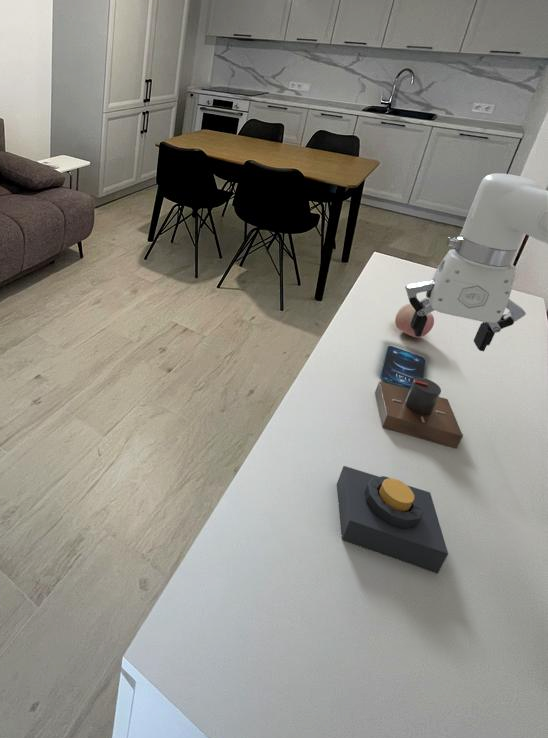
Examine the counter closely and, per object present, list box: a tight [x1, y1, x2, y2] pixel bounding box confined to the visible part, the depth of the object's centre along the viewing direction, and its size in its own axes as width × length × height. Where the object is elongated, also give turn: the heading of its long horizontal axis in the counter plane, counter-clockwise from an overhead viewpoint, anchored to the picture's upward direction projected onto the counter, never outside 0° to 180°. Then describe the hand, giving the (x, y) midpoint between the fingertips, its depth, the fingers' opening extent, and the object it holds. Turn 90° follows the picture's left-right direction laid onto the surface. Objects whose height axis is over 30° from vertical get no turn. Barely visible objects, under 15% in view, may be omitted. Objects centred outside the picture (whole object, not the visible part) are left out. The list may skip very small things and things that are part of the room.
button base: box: [336, 465, 449, 574], centre depth 72 cm, size 12×10×6 cm
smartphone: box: [379, 345, 426, 389], centre depth 107 cm, size 8×1×15 cm
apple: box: [394, 303, 435, 339], centre depth 118 cm, size 8×8×8 cm
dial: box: [405, 377, 442, 415], centre depth 91 cm, size 4×4×5 cm
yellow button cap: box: [379, 477, 414, 511], centre depth 70 cm, size 4×4×2 cm
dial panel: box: [374, 381, 463, 449], centre depth 93 cm, size 12×10×3 cm
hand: (446, 339), depth 86 cm, fingers open, 9 cm apart
